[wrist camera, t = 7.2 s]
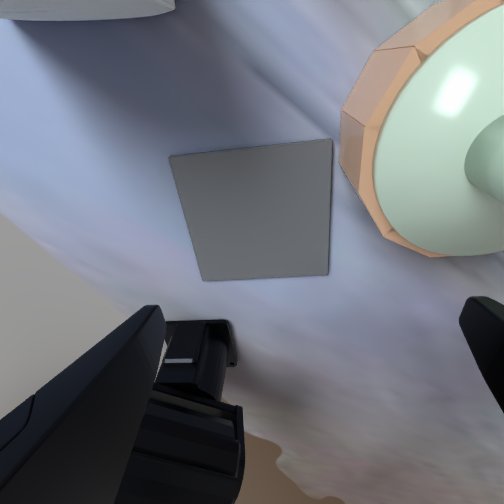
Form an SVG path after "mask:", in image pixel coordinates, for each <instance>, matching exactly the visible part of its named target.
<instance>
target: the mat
mask: <svg viewBox="0 0 504 504" xmlns="http://www.w3.org/2000/svg"><path fill="white" fill-rule="evenodd" d="M168 158H169V162H170V166H171V169H172V173H173V176H174V180H175V184H176V187H177V191H178V194H179V198H180V202H181V205H182V209H183V212H184V216H185V220H186V223H187V227H188V230H189V234H190V238H191V241H192V245H193V248H194V252H195V256H196V259H197V263H198V266H199V270H200V274H201V277H202V281H216V280H235V279H254V278H274V277H293V276H312V275H328V249H329V219H330V190H331V160H332V139H331V138H329V139H320V140H311V141H302V142H292V143H283V144H274V145H265V146H256V147H247V148H238V149H228V150H219V151H210V152H201V153H192V154H183V155H173V156H170V157H168Z"/></svg>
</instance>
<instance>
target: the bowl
mask: <svg viewBox="0 0 504 504" xmlns="http://www.w3.org/2000/svg"><path fill="white" fill-rule="evenodd" d="M502 3H504V0H445V1H442V2H439V3H437V4H434V5H432V6H431V7H430V8H429V9H427V10H426V11H425V12H423V13H422V14H421V15H419V16H418V17H417V18H416V19H414V20H413V21H412V22H410V23H409V24H408V25H406V26H405V27H404V28H402V29H401V30H400V31H399V32H397V33H396V34H395V35H393V36H392V37H391V38H389V39H388V40H387V41H386V42H384V43H383V44H382V45H380V46H379V47H378V48H376V49H375V50H374V51H373V53H372V54H371V56H370V58H369V60H368V62H367V63H366V65H365V67H364V69H363V71H362V73H361V74H360V76H359V78H358V80H357V82H356V83H355V85H354V87H353V89H352V91H351V93H350V94H349V96H348V98H347V100H346V102H345V104H344V105H343V107H342V109H341V121H340V142H339V164H340V166H341V167H342V169H343V171H344V173H345V174H346V176H347V178H348V180H349V181H350V183H351V185H352V187H353V188H354V190H355V192H356V193H357V195H358V197H359V199H360V200H361V202H362V203H363V205H364V207H365V208H366V210H367V211H368V213H369V215H370V216H371V218H372V219H373V221H374V223H375V224H376V226H377V227H378V229H379V230H380V232H381V234H382V235H383V237H384V238H387V239H389V240H391V241H394V242H396V243H398V244H400V245H403V246H405V247H407V248H409V249H412V250H414V251H416V252H419V253H421V254H423V255H425V256H428V257H447V256H453V255H443V254H439V253H434V252H430V251H428V250H425V249H422V248H420V247H418V246H416V245H414V244H412V243H410V242H409V241H407V240H406V239H405V238H403V237H402V236H401V235H400V234H399V233H398V232H397V231H396V230H395V229H394V228H393V227H392V225H391V224H390V223H389V221H388V220H387V218H386V217H385V215H384V214H383V212H382V211H381V209H380V207H379V204H378V202H377V200H376V197H375V193H374V189H373V182H372V159H373V153H374V148H375V143H376V140H377V137H378V133H379V130H380V127H381V125H382V122H383V120H384V118H385V116H386V113H387V111H388V109H389V107H390V106H391V104H392V102H393V100H394V99H395V97H396V95H397V93H398V92H399V91H400V89H401V88H402V86H403V85H404V83H405V82H406V81H407V79H408V78H409V76H410V75H411V74H412V73H413V72H414V71H415V69H416V68H417V67H418V66H419V65H420V64H421V62H422V61H423V60H424V59H425V58H426V57H427V56H428V55H429V54H430V53H431V52H432V51H433V50H434V49H435V48H436V47H437V46H438V45H440V44H441V43H442V42H443V41H444V40H445V39H447V38H448V37H449V36H450V35H452V34H453V33H454V32H455V31H457V30H458V29H459V28H460V27H462V26H463V25H465V24H466V23H468V22H470V21H471V20H473V19H474V18H476V17H477V16H479V15H481V14H482V13H484V12H486V11H488V10H490V9H492V8H494V7H496V6H498V5H500V4H502ZM490 254H492V253H490Z"/></svg>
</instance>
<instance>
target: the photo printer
mask: <svg viewBox="0 0 504 504" xmlns="http://www.w3.org/2000/svg"><path fill="white" fill-rule="evenodd" d="M172 10H175V3H174V0H0V18H4V19H12V20H30V21H83V20H108V19H124V18H137V17H148V16H154V15H159V14H163V13H166V12H170V11H172Z"/></svg>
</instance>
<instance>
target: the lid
mask: <svg viewBox="0 0 504 504" xmlns="http://www.w3.org/2000/svg"><path fill="white" fill-rule="evenodd" d="M372 182H373V189H374V193H375V197H376V200H377V202H378V204H379V207H380V209H381V211H382V212H383V214H384V215H385V217H386V218H387V220H388V221H389V223H390V224H391V225H392V227H393V228H394V229H395V230H396V231H397V232H398V233H399V234H400V235H401V236H402V237H403V238H405V239H406V240H407V241H409V242H410V243H412V244H414V245H416V246H418V247H420V248H422V249H425V250H428V251H430V252H434V253H439V254H443V255H453V256H474V255H484V254H490V253H495V252H500V251H504V3H502V4H500V5H498V6H496V7H494V8H492V9H490V10H488V11H486V12H484V13H482V14H481V15H479V16H477V17H476V18H474V19H473V20H471V21H470V22H468V23H466V24H465V25H463V26H462V27H460V28H459V29H458V30H457V31H455V32H454V33H453V34H452V35H450V36H449V37H448V38H447V39H445V40H444V41H443V42H442V43H441V44H440V45H438V46H437V47H436V48H435V49H434V50H433V51H432V52H431V53H430V54H429V55H428V56H427V57H426V58H425V59H424V60H423V61H422V62H421V64H420V65H419V66H418V67H417V68H416V69H415V71H414V72H413V73H412V74H411V75H410V76H409V78H408V79H407V81H406V82H405V83H404V85H403V86H402V88H401V89H400V91H399V92H398V93H397V95H396V97H395V99H394V100H393V102H392V104H391V106H390V107H389V109H388V111H387V113H386V116H385V118H384V120H383V122H382V125H381V127H380V130H379V133H378V137H377V140H376V143H375V148H374V153H373V159H372Z"/></svg>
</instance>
